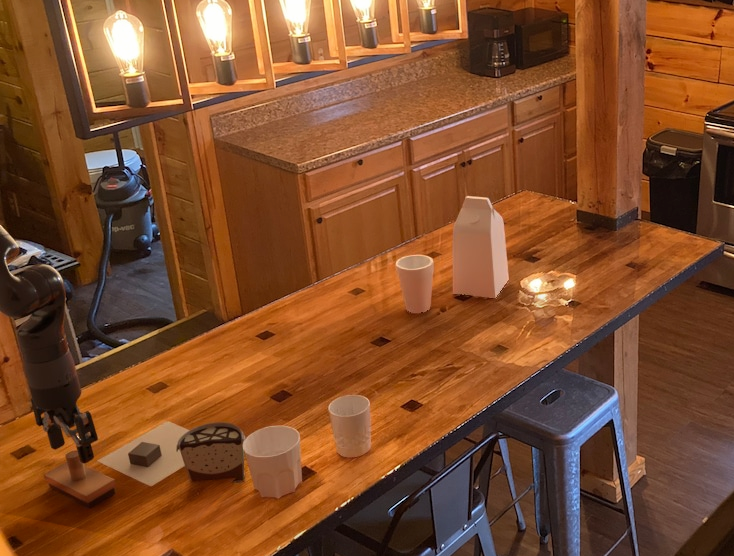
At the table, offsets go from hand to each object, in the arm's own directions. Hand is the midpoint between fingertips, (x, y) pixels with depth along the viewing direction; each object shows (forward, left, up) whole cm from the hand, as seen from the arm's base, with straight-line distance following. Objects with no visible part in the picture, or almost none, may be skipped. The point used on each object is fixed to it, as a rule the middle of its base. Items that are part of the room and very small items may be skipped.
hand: (73, 453), depth 172 cm
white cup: (+33, +36, -9) cm, 50 cm away
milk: (+11, +109, -9) cm, 110 cm away
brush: (0, 0, -9) cm, 9 cm away
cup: (+29, +20, -9) cm, 36 cm away
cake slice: (+17, +17, -9) cm, 26 cm away
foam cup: (+4, +91, -9) cm, 92 cm away
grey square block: (+2, +12, -8) cm, 15 cm away
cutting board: (+2, +15, -9) cm, 18 cm away
